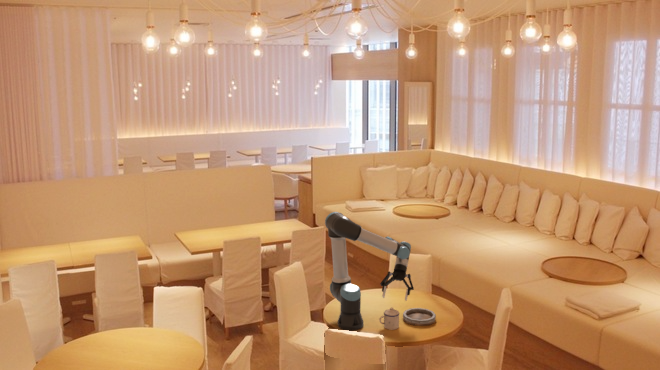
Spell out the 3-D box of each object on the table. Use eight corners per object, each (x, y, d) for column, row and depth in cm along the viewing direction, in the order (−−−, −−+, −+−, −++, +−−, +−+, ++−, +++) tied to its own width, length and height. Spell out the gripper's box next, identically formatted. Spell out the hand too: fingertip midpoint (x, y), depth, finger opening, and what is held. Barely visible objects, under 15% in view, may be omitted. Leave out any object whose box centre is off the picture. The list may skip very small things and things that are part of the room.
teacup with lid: (395, 322, 378) (395, 304, 376) (401, 328, 370) (402, 310, 367) (376, 325, 375) (376, 306, 373) (382, 331, 366) (382, 312, 364)
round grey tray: (399, 323, 378) (399, 318, 377) (407, 311, 395) (407, 306, 395) (431, 327, 371) (432, 322, 370) (438, 315, 389) (438, 310, 388)
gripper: (422, 271, 388) (416, 303, 377) (382, 266, 396) (375, 298, 386) (420, 265, 382) (414, 298, 371) (380, 261, 390) (372, 293, 380)
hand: (394, 298), depth 378 cm, fingers open, 13 cm apart
